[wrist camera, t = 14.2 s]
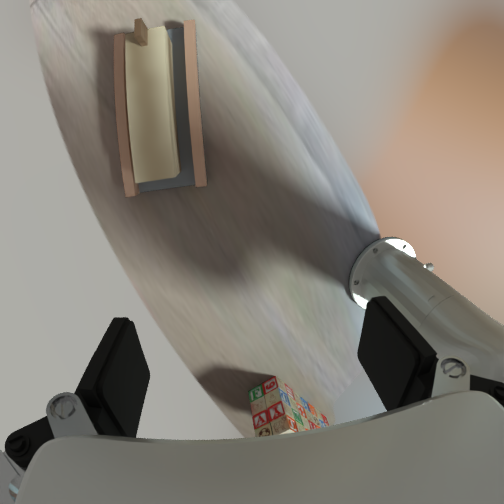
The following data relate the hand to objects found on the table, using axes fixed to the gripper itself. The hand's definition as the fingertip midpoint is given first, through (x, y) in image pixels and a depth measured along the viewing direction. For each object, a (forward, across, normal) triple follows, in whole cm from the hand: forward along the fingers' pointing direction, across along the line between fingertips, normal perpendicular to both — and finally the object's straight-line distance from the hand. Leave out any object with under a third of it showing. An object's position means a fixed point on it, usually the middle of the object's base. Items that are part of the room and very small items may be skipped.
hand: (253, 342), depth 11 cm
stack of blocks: (+28, -8, +41) cm, 50 cm away
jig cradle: (+26, +8, -13) cm, 30 cm away
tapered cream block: (+24, +8, -13) cm, 29 cm away
